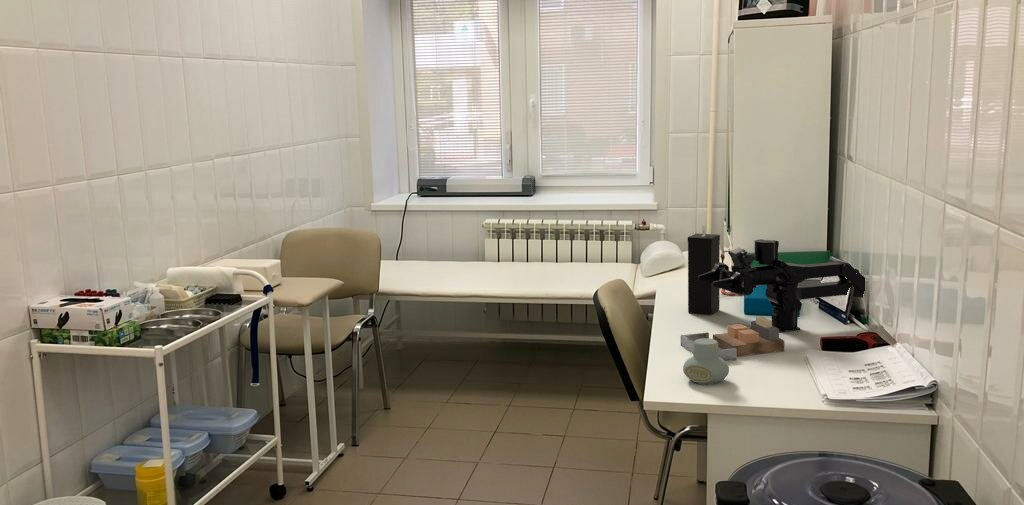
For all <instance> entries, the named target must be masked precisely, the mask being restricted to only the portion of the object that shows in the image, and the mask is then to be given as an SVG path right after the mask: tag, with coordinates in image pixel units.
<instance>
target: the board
mask: <svg viewBox="0 0 1024 505" xmlns="http://www.w3.org/2000/svg"><path fill="white" fill-rule="evenodd" d="M712 339H714V340H716V341H717V342H718V347H719V348H721V349H731V348H736V349H737V357H744V356H754V355H763V354H772V352H773V353H782V352H785V339H782V338H780V337H779V340H774V341H768V340H766V339H764V338H762V337H760V336H759V342H755V343H746V344H745V343H743V342H741V341H739V340H738V337H737V338H734V337H732V336H730V335H728V332H726V333H717V334H712Z"/></svg>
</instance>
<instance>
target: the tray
mask: <svg viewBox="0 0 1024 505" xmlns="http://www.w3.org/2000/svg"><path fill="white" fill-rule="evenodd" d="M702 338H708V339H710V333H709V332H700V333H699V332H698V333H689V334H681V335H680V347H682V348H683V347H684V349H685V350H687V351H688V352H690V353H691V352H692V353H691V354H693V349H694V341H695V340H697V339H702ZM718 357H720V358H721V359H723V360H724V361H725V362H729V361H731V362H732V361H737V360H738V359H737V349H736V348H731V349H721V348H719V347H718Z"/></svg>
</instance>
